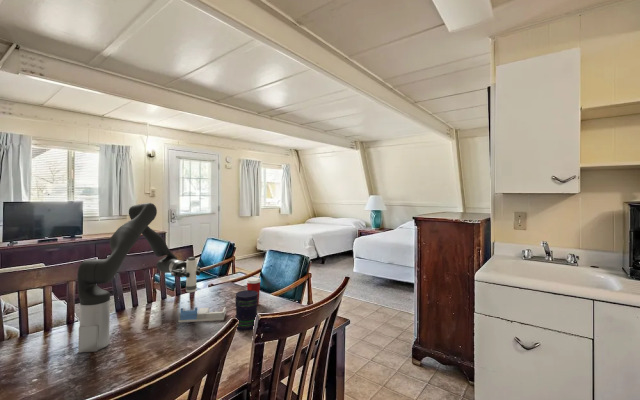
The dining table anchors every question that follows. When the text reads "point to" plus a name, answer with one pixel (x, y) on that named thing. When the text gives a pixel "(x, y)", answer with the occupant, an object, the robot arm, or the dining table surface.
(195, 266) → the off-white tall block
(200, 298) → the dining table surface
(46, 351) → the dining table surface
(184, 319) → the grey blue holder base
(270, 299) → the dining table surface
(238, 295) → the storage jar
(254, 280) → the paper cup
